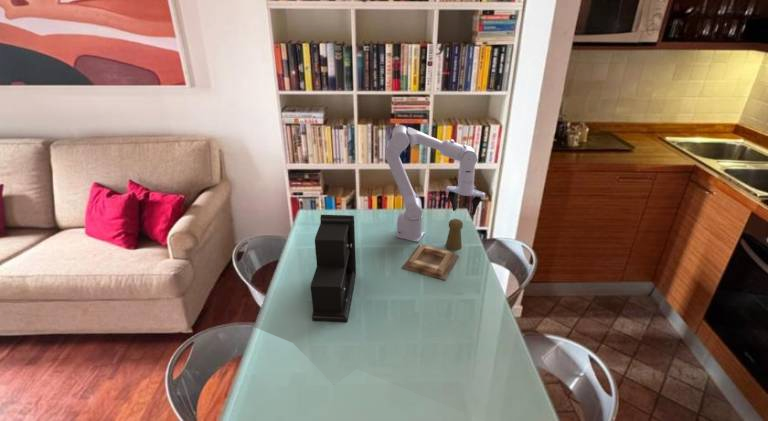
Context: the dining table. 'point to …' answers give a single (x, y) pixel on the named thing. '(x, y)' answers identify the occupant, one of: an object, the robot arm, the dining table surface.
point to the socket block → (431, 262)
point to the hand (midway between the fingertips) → (464, 211)
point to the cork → (454, 235)
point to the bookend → (334, 268)
